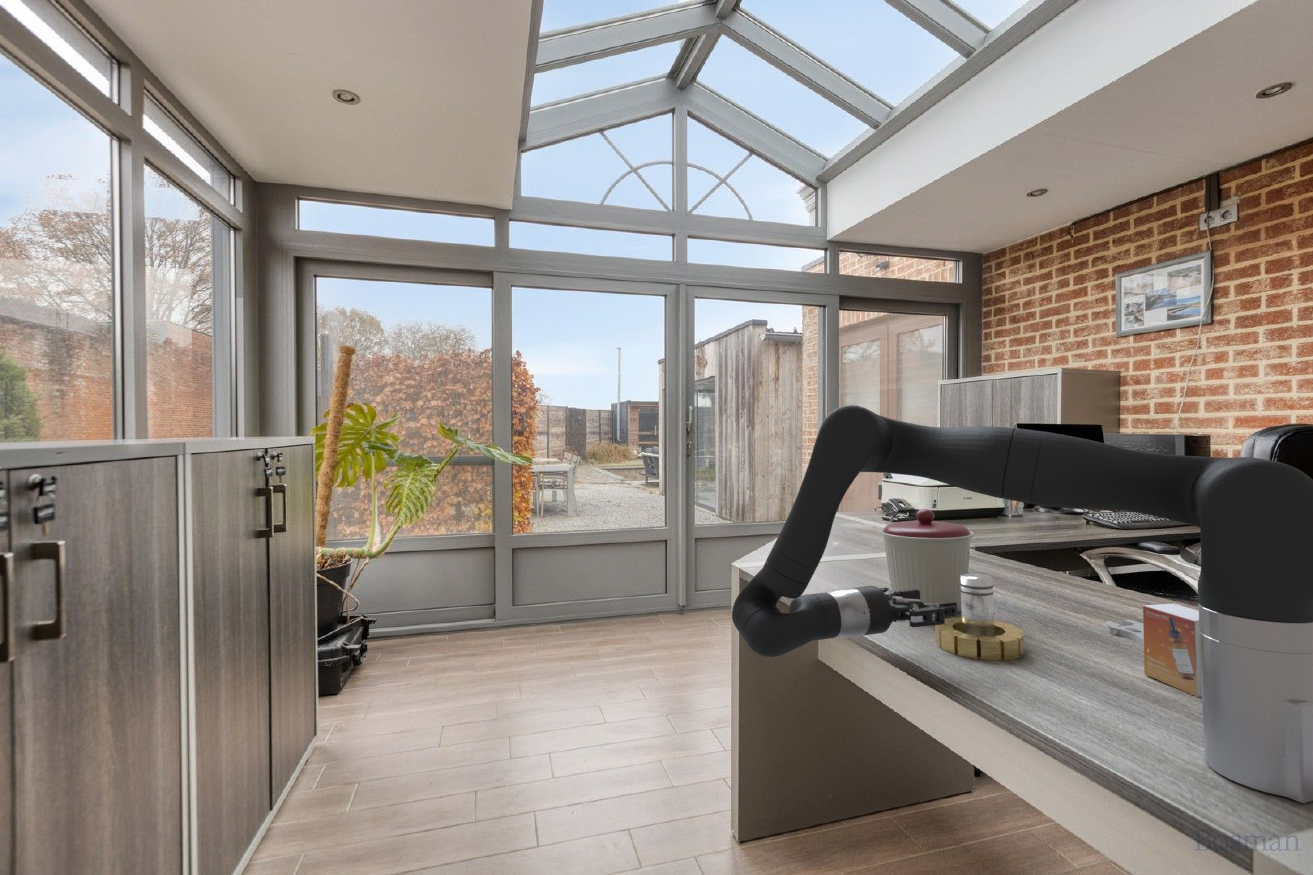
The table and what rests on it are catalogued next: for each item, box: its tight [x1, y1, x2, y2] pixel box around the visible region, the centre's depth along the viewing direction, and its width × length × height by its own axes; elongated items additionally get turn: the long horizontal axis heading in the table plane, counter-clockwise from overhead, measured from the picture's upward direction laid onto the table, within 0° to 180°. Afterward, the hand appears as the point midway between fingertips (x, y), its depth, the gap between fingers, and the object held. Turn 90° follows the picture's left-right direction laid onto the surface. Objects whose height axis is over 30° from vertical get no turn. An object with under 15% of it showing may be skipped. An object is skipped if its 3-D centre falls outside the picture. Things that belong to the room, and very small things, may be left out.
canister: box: [879, 508, 975, 613], centre depth 126 cm, size 18×18×21 cm
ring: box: [934, 616, 1026, 661], centre depth 103 cm, size 13×13×3 cm
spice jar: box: [960, 573, 995, 636], centre depth 103 cm, size 5×5×12 cm
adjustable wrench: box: [1106, 619, 1144, 647], centre depth 99 cm, size 25×6×2 cm, turn 160°
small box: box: [1142, 603, 1202, 698], centre depth 85 cm, size 8×6×10 cm
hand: (936, 601), depth 101 cm, fingers open, 8 cm apart
